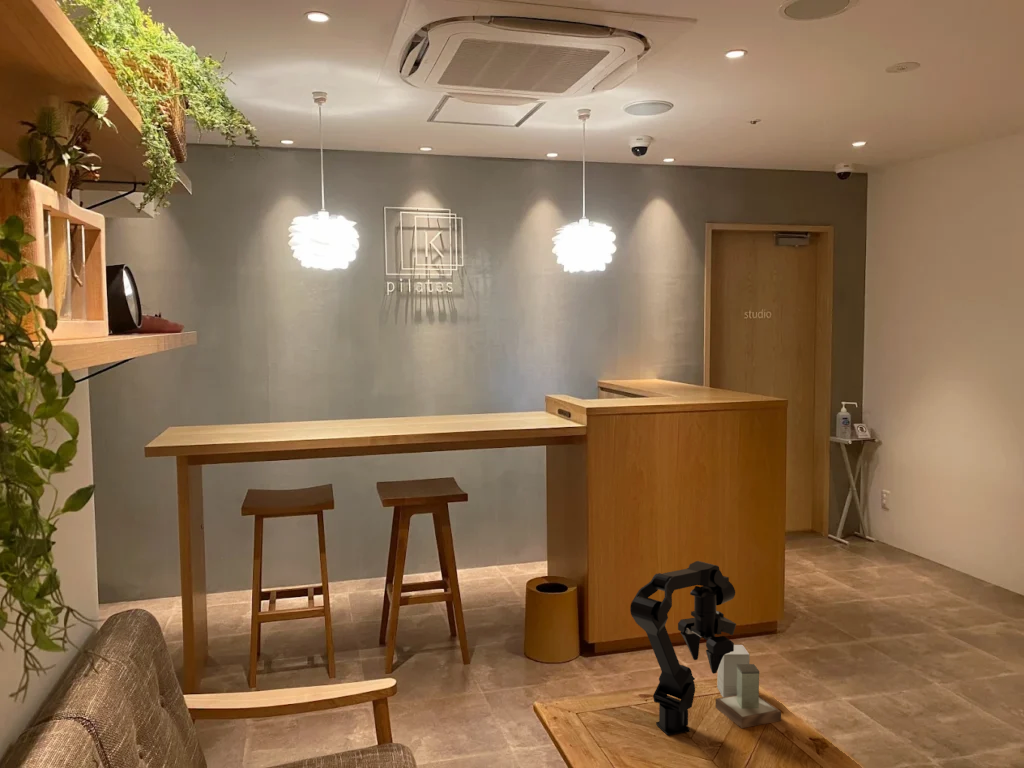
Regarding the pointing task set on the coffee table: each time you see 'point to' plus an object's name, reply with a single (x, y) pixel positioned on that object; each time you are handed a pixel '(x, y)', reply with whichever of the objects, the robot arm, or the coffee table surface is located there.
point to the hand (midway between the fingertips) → (704, 666)
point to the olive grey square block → (747, 686)
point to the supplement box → (731, 670)
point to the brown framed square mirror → (748, 712)
